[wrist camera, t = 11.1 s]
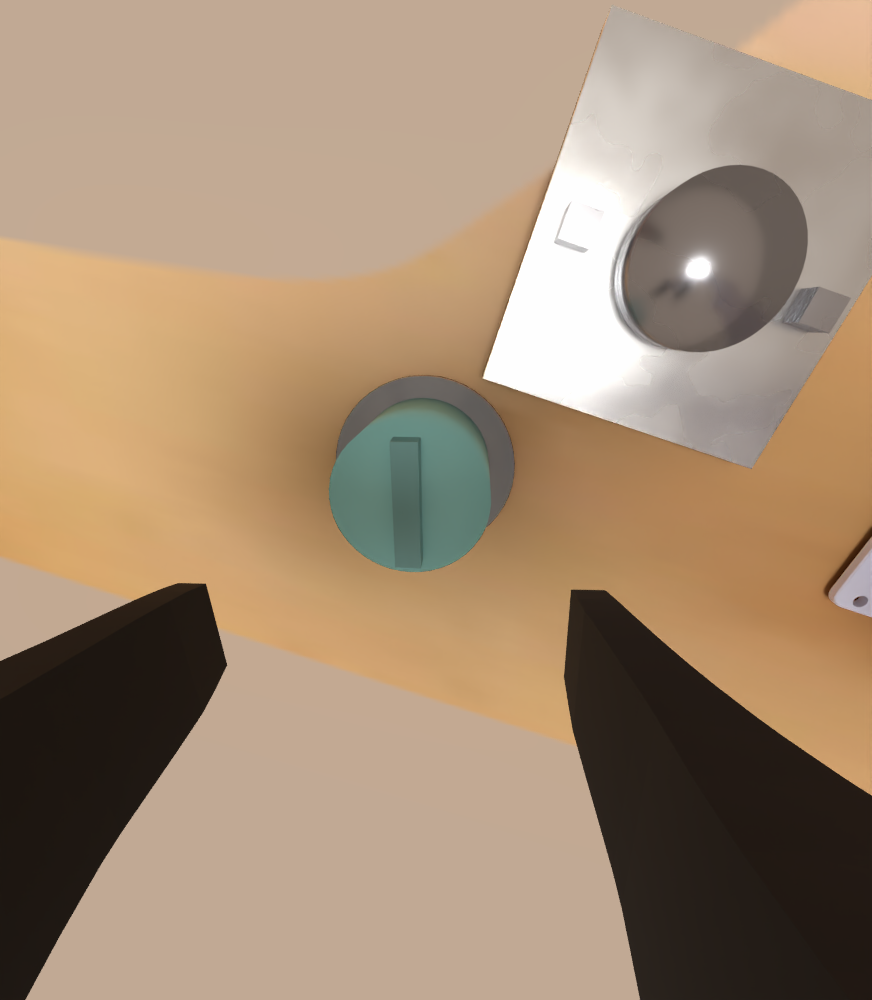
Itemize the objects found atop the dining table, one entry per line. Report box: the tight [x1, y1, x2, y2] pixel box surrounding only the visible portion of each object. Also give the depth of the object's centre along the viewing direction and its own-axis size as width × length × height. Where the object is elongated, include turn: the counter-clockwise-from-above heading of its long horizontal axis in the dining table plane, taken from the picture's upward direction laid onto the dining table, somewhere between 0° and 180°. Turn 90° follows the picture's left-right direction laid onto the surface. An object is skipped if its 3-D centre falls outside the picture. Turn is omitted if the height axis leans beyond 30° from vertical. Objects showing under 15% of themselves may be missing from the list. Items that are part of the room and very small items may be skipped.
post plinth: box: [483, 5, 872, 469], centre depth 14 cm, size 10×10×2 cm
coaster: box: [336, 375, 515, 528], centre depth 18 cm, size 7×7×1 cm
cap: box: [329, 398, 491, 572], centre depth 15 cm, size 5×5×5 cm
